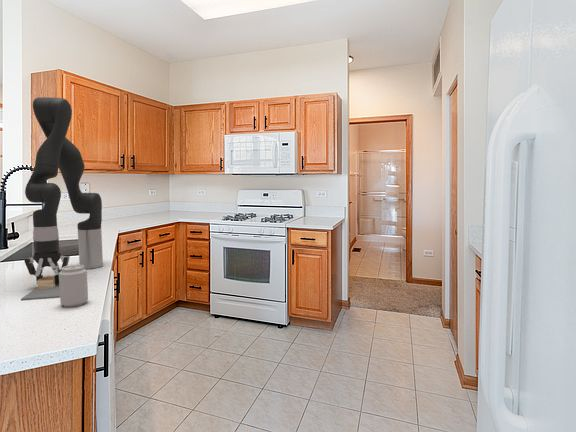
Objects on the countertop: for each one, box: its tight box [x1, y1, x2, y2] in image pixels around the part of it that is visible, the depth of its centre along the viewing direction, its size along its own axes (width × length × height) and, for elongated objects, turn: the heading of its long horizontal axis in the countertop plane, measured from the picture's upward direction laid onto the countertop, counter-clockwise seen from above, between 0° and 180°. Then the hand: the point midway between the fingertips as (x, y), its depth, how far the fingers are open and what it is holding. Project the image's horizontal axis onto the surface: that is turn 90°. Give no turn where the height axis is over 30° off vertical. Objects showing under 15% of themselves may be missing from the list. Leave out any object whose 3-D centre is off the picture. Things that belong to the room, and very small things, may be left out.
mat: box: [20, 284, 60, 301], centre depth 126 cm, size 20×14×1 cm
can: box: [59, 264, 89, 308], centre depth 111 cm, size 8×8×12 cm
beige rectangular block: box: [36, 274, 56, 289], centre depth 128 cm, size 8×5×3 cm, turn 16°
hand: (49, 284), depth 128 cm, fingers closed on beige rectangular block, 4 cm apart
